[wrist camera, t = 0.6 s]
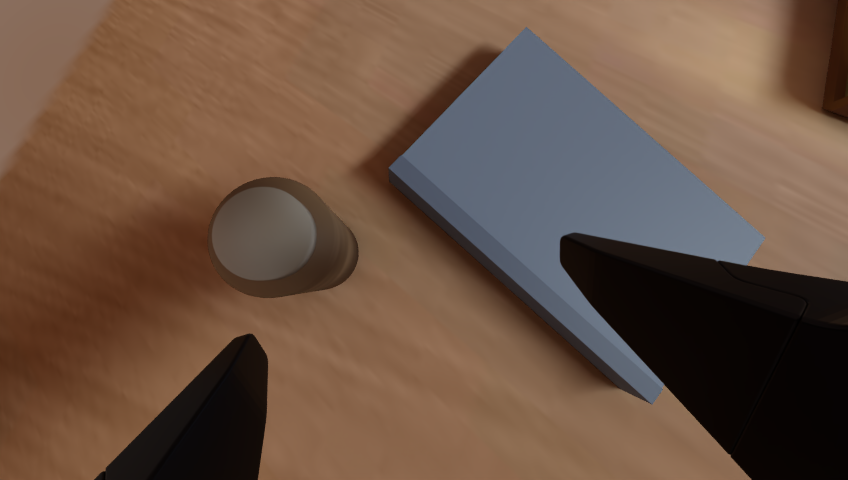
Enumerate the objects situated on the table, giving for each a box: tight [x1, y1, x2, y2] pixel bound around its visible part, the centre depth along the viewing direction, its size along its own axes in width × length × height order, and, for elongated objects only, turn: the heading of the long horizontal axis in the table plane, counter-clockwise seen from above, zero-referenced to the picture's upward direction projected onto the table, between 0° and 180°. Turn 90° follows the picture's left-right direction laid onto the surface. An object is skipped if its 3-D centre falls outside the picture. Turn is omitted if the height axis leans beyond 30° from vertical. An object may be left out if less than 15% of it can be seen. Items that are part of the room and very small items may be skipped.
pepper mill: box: [208, 177, 358, 298], centre depth 17 cm, size 5×5×10 cm
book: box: [389, 27, 765, 404], centre depth 23 cm, size 14×22×3 cm, turn 48°
